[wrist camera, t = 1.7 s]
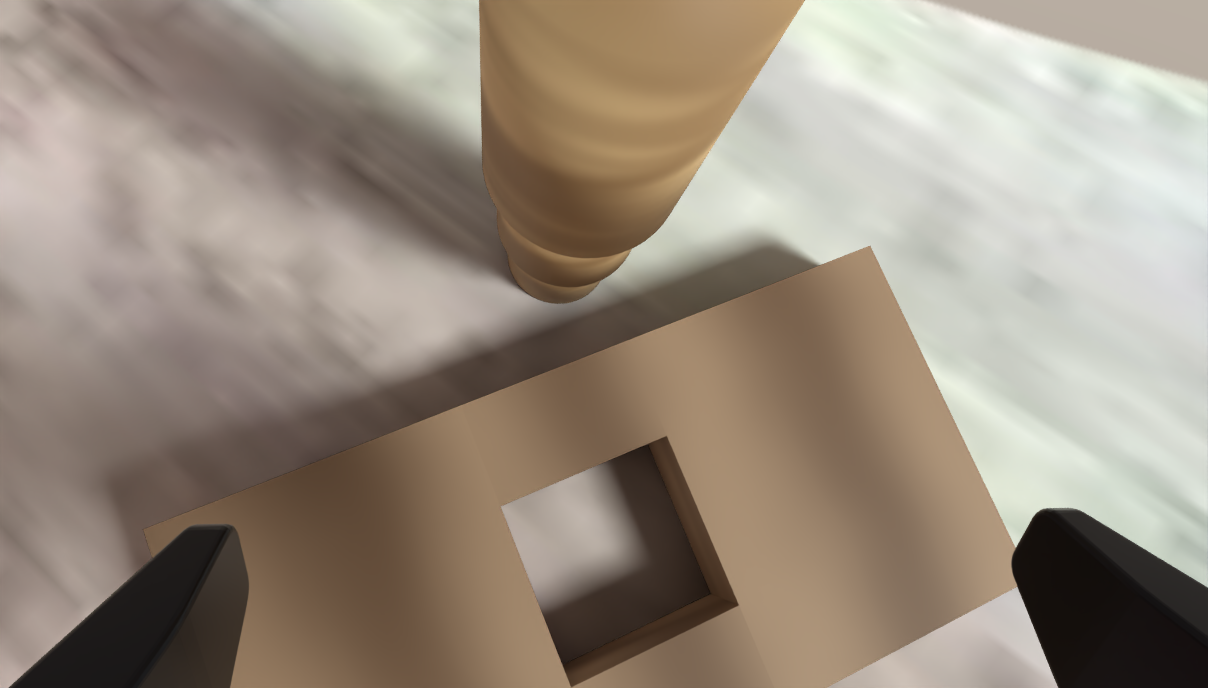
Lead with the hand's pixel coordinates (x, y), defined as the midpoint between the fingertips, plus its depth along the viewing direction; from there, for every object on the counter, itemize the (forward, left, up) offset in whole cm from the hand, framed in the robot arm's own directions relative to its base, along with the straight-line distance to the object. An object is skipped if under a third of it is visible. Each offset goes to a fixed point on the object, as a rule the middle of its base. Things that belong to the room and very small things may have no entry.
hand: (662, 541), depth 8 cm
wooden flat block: (+1, -1, -13) cm, 13 cm away
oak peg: (+3, +7, -13) cm, 15 cm away
